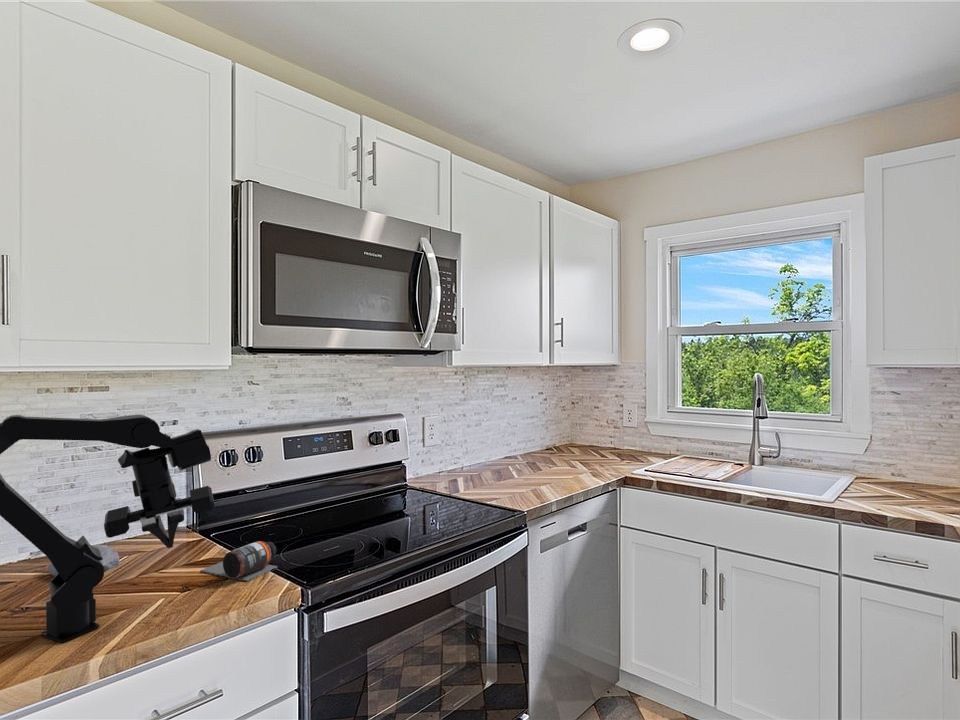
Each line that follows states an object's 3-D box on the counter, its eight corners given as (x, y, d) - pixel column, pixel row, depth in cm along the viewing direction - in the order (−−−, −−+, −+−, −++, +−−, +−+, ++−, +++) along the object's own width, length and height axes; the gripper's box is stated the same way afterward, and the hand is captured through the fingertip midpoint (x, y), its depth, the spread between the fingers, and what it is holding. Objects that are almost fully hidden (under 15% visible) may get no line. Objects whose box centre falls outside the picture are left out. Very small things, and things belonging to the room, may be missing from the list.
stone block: (124, 573, 138) (100, 557, 142) (126, 553, 137) (102, 538, 142) (68, 592, 127) (44, 575, 132) (70, 572, 127) (46, 555, 131)
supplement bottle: (220, 575, 129) (260, 559, 139) (239, 582, 127) (278, 566, 137) (222, 548, 129) (261, 535, 139) (241, 555, 126) (280, 540, 137)
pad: (247, 581, 127) (247, 580, 127) (200, 572, 133) (200, 570, 133) (277, 568, 136) (277, 566, 136) (232, 559, 141) (232, 557, 141)
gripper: (203, 449, 124) (217, 512, 129) (100, 472, 116) (119, 539, 121) (207, 472, 114) (221, 540, 119) (95, 500, 106) (116, 571, 111)
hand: (170, 546), depth 118 cm, fingers closed
